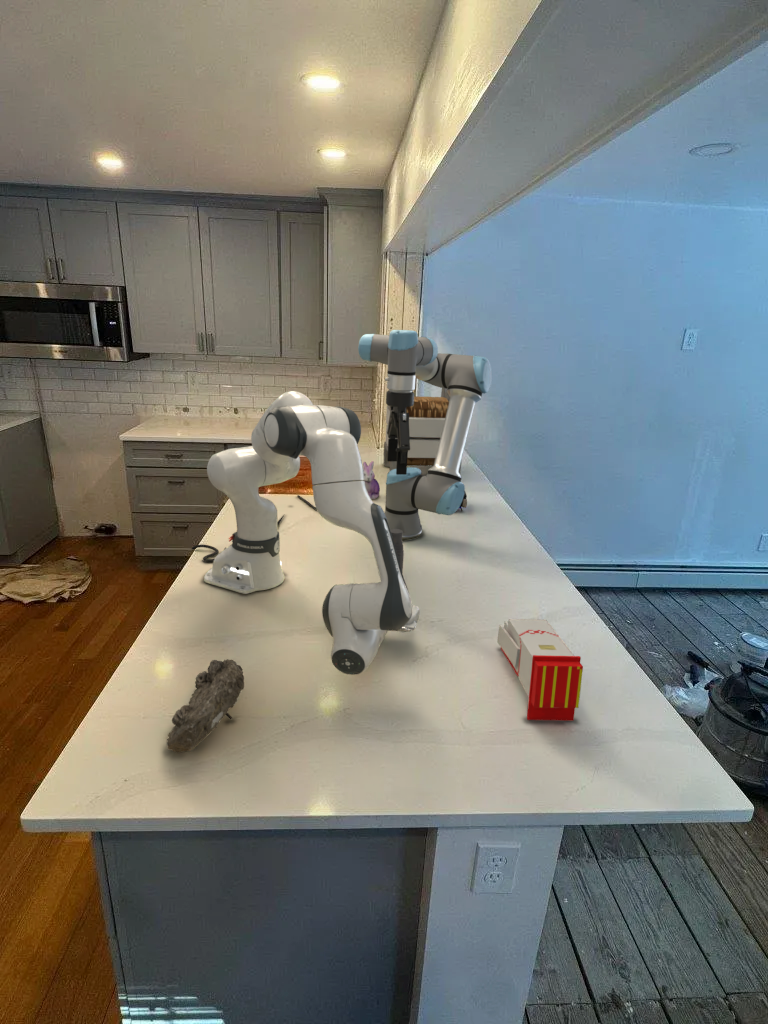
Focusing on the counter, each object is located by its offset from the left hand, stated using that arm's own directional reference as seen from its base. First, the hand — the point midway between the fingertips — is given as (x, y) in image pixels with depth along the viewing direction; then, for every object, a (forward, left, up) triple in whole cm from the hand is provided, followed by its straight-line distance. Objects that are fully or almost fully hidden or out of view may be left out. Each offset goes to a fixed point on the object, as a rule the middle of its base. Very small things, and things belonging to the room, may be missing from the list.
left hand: (384, 597), depth 142 cm
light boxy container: (-18, +139, -7) cm, 140 cm away
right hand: (-5, +27, +26) cm, 38 cm away
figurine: (-31, +95, -7) cm, 100 cm away
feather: (-54, +58, -7) cm, 80 cm away
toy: (+37, -13, -7) cm, 40 cm away
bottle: (0, +11, -7) cm, 13 cm away
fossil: (-22, -44, -7) cm, 50 cm away
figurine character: (+6, +95, -7) cm, 95 cm away
